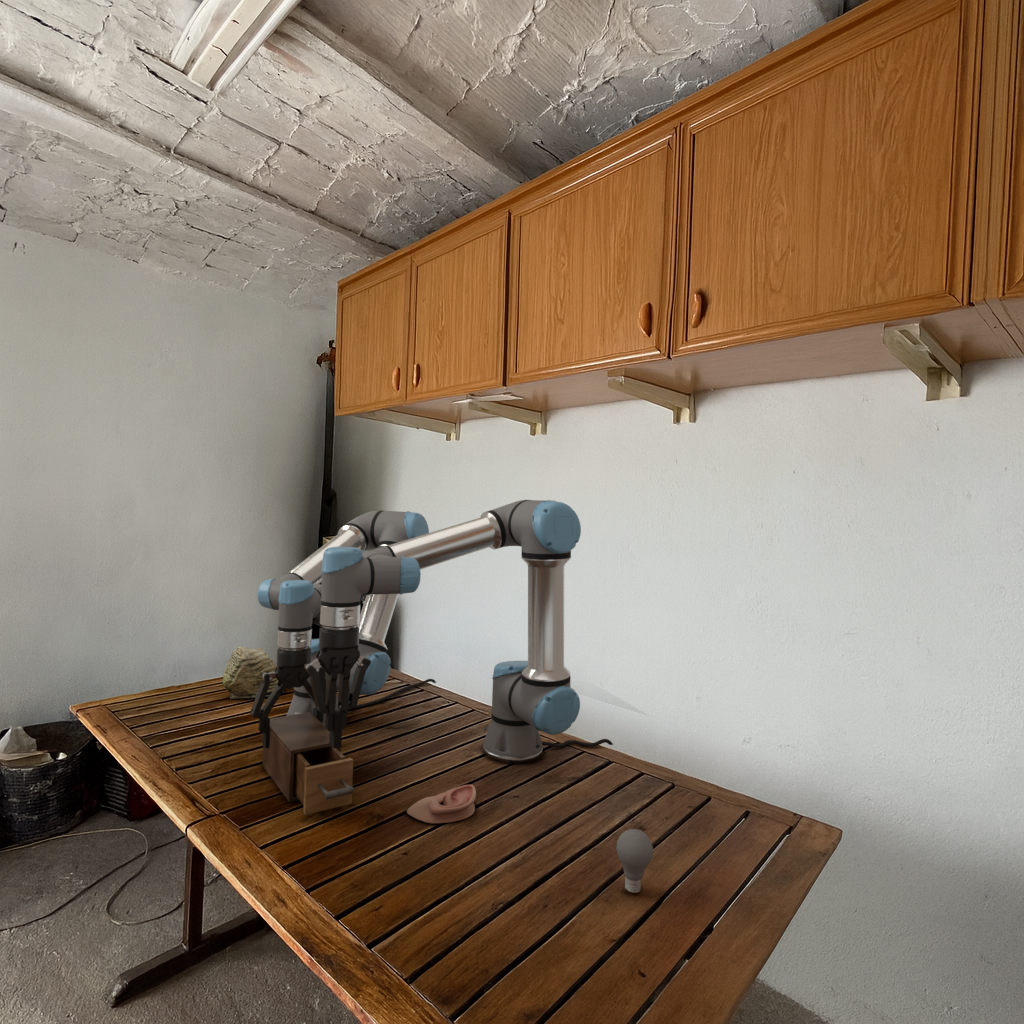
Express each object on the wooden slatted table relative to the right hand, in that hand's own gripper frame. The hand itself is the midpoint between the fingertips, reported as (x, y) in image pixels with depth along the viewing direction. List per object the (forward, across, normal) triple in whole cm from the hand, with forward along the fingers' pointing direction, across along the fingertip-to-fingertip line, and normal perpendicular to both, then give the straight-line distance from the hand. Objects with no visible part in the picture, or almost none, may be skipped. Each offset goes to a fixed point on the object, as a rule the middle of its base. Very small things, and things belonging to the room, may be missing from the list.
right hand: (335, 745), depth 125 cm
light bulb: (+15, +34, -48) cm, 61 cm away
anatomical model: (+15, +20, -8) cm, 26 cm away
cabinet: (+15, 0, +22) cm, 26 cm away
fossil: (+15, +6, +86) cm, 87 cm away
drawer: (+14, 0, +9) cm, 17 cm away
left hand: (+9, 0, +28) cm, 30 cm away
